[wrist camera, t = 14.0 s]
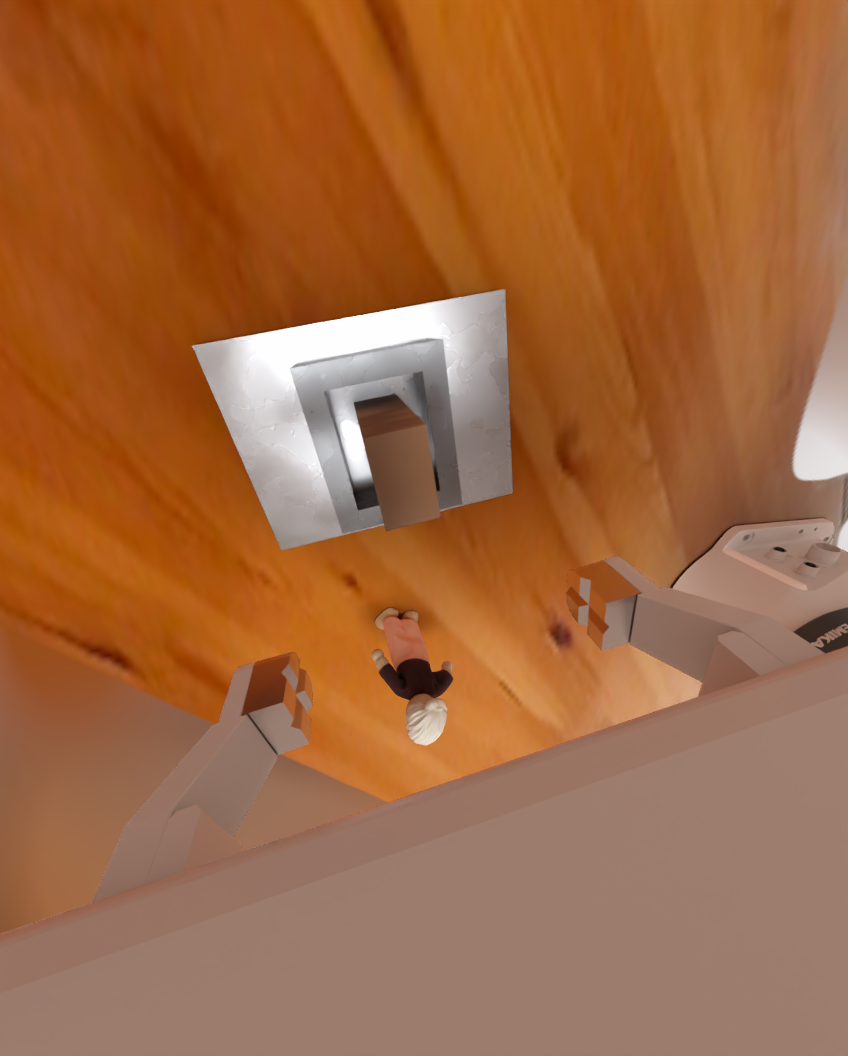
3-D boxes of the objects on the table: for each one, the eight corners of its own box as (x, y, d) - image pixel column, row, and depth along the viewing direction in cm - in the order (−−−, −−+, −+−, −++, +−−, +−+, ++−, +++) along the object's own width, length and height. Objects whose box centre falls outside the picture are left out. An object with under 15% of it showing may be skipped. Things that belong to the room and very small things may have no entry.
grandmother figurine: (362, 634, 37) (374, 761, 26) (368, 604, 35) (382, 726, 24) (433, 634, 39) (472, 751, 28) (441, 606, 37) (486, 719, 26)
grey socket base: (498, 291, 25) (529, 282, 21) (507, 488, 32) (531, 510, 28) (198, 345, 23) (169, 347, 19) (283, 543, 30) (275, 575, 26)
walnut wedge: (395, 393, 25) (426, 424, 17) (408, 460, 28) (440, 517, 19) (353, 402, 25) (362, 438, 16) (370, 469, 27) (386, 531, 19)
